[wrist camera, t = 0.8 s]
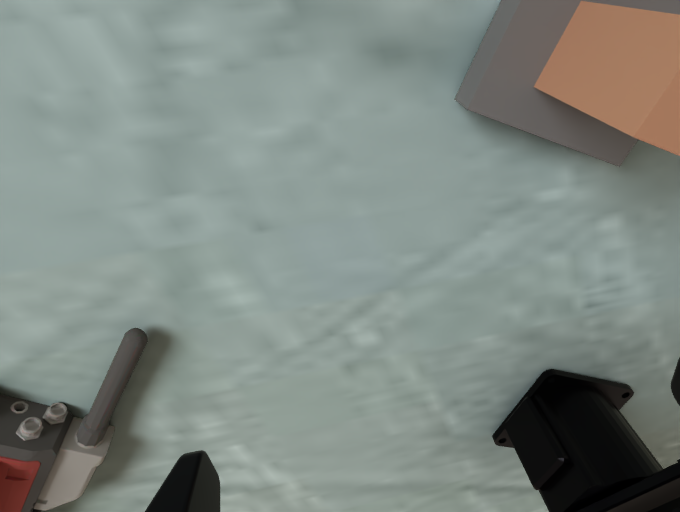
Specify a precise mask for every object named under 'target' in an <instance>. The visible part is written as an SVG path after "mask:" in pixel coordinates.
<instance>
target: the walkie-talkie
mask: <svg viewBox="0 0 680 512" xmlns="http://www.w3.org/2000/svg"><path fill="white" fill-rule="evenodd" d="M147 342H148V338H147V335H146V334H145V332H144V331H143V330H141V329H139V328H133V329H130V330H129V331H128V332H126V333H125V335H124V337H123V340H122V342H121V344H120V346H119V348H118V351H117V353H116V355H115V357H114V359H113V362H112V364H111V366H110V368H109V370H108V373H107V375H106V377H105V379H104V381H103V383H102V386H101V388H100V390H99V392H98V394H97V397H96V399H95V401H94V403H93V405H92V408H91V410H90V412H89V414H87V415H86V416H85V417H84V419H81V418H77V417H73V416H72V414H71V413H70V411H68V410H67V407H66V406H65V405H64V404H63V403H54V404H52V405H51V406H47V405H43V404H39V403H35V402H31V401H26V400H22V399H18V398H14V397H10V396H6V395H2V394H0V512H41V511H42V510H43V511H46V510H49V509H52V508H54V507H57V506H60V505H62V504H65V503H68V502H70V501H73V500H76V499H78V498H79V497H81V496H82V494H83V493H84V491H85V489H86V487H87V485H88V483H89V481H90V479H91V477H92V475H93V473H94V472H95V470H96V468H97V466H98V465H100V464H102V462H103V460H104V458H105V456H106V454H107V451H108V448H109V445H110V442H111V439H112V436H113V433H114V430H115V427H114V426H110V420H109V419H110V417H111V415H112V413H113V411H114V409H115V407H116V405H117V403H118V401H119V399H120V397H121V395H122V393H123V391H124V389H125V387H126V385H127V383H128V381H129V379H130V377H131V374H132V372H133V370H134V368H135V366H136V364H137V362H138V360H139V358H140V356H141V354H142V352H143V350H144V348H145V346H146V344H147ZM33 508H34V509H33Z"/></svg>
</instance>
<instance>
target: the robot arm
mask: <svg viewBox="0 0 680 512" xmlns="http://www.w3.org/2000/svg"><path fill="white" fill-rule="evenodd" d="M671 390H672V393H673V396H674V398H675V399H676V401H677V403H678V404H679V406H680V358H679V360H678V363H677V366H676V369H675V372H674V375H673V378H672V381H671ZM633 394H634V392H633V390H632V389H631V388H630V386H629V385H626V384H621V383H617V382H612V381H607V380H602V379H597V378H592V377H588V376H583V375H578V374H573V373H568V372H563V371H559V370H554V369H550V370H546V371H545V372H543V373H542V374H541V375H540V377H539V378H538V379H537V380H536V382H535V383H534V384H533V385H532V387H531V388H530V389H529V390H528V392H527V393H526V394H525V395H524V397H523V398H522V399H521V400H520V402H519V403H518V404H517V405H516V407H515V408H514V409H513V410H512V412H511V413H510V414H509V415H508V417H507V418H506V419H505V420H504V422H503V423H502V424H501V425H500V427H499V428H498V429H497V430H496V432H495V433H494V434H493V436H492V437H493V440H494V442H495V444H496V445H498V446H504V447H511V448H515V450H516V452H517V455H518V457H519V459H520V461H521V463H522V465H523V467H524V469H525V471H526V473H527V475H528V477H529V479H530V481H531V483H532V486H533V487H534V489H536V490H539V492H540V494H541V496H542V498H543V500H544V502H545V504H546V506H547V508H548V510H549V512H680V459H679V460H677V461H678V463H676V464H673V465H671V466H669V467H667V468H665V469H663V468H662V467H661V465H660V464H659V463H658V461H657V460H656V459H655V457H654V456H653V455H652V453H651V452H650V451H649V449H648V448H647V447H646V445H645V444H644V443H643V441H642V440H641V439H640V437H639V436H638V435H637V433H636V432H635V431H634V430H633V428H632V427H631V426H630V424H629V423H628V422H627V420H626V419H625V418H624V416H623V415H622V414H621V412H620V411H619V409H620V408H621V407H622V406H623V405H624V404H625V403H626V402H627V401H628V400H629V399H630V398H631V397H632V396H633ZM145 512H220V480H219V476H218V474H217V472H216V470H215V468H214V466H213V464H212V462H211V460H210V459H209V457H208V455H207V453H206V452H205V451H203V450H200V451H195V452H190V453H186V454H183V455H182V456H181V457H180V458H179V459H178V461H177V462H176V464H175V465H174V467H173V469H172V470H171V472H170V473H169V475H168V476H167V478H166V479H165V481H164V483H163V484H162V486H161V487H160V489H159V490H158V492H157V493H156V495H155V497H154V498H153V500H152V501H151V503H150V504H149V506H148V507H147V509H146V511H145Z"/></svg>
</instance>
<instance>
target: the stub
mask: <svg viewBox="0 0 680 512" xmlns="http://www.w3.org/2000/svg"><path fill="white" fill-rule="evenodd" d="M455 100H456V101H457V102H458V103H460V104H461V105H462V106H463V107H465V108H466V109H467V110H470V111H473V112H475V113H478V114H481V115H483V116H486V117H489V118H491V119H494V120H497V121H499V122H502V123H505V124H507V125H510V126H513V127H515V128H518V129H521V130H523V131H526V132H528V133H531V134H534V135H536V136H539V137H542V138H544V139H547V140H550V141H552V142H555V143H558V144H560V145H563V146H566V147H568V148H571V149H574V150H576V151H579V152H582V153H584V154H587V155H590V156H592V157H595V158H598V159H600V160H603V161H606V162H608V163H611V164H614V165H616V166H619V167H620V165H621V164H622V162H623V161H624V160H625V158H626V157H627V155H628V154H629V152H630V151H631V150H632V148H633V147H634V145H635V144H636V142H637V141H638V139H639V140H642V141H644V142H647V143H649V144H651V145H654V146H656V147H659V148H661V149H664V150H666V151H669V152H671V153H674V154H676V155H679V156H680V0H501V2H500V4H499V6H498V8H497V11H496V13H495V15H494V17H493V19H492V21H491V23H490V25H489V27H488V30H487V32H486V34H485V36H484V38H483V40H482V42H481V44H480V46H479V48H478V51H477V53H476V55H475V57H474V59H473V61H472V63H471V65H470V67H469V69H468V72H467V74H466V76H465V78H464V80H463V82H462V84H461V86H460V88H459V91H458V93H457V95H456V97H455Z"/></svg>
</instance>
